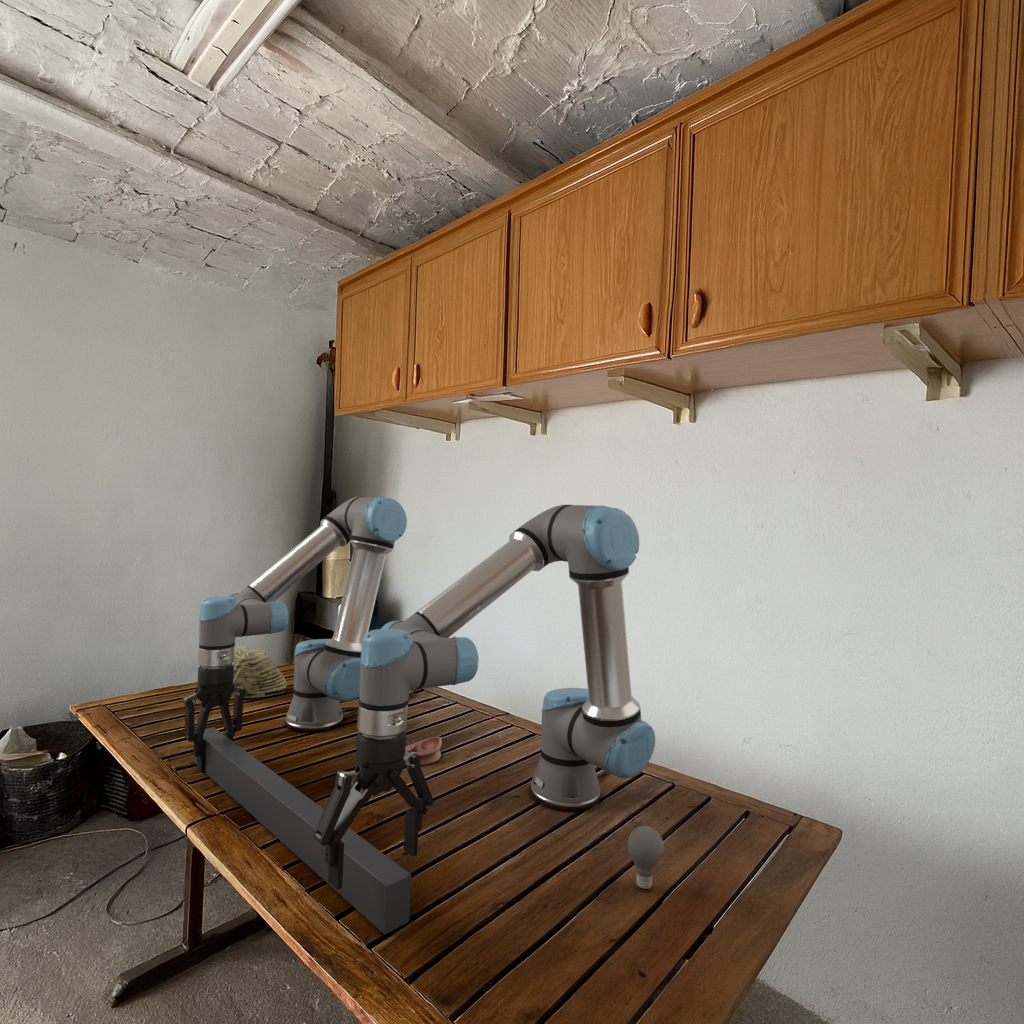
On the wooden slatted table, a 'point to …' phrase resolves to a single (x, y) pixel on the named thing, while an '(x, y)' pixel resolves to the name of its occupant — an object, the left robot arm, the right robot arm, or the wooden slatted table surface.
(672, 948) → the wooden slatted table surface
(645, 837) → the light bulb
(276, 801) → the post
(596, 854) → the wooden slatted table surface
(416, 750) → the anatomical model
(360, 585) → the left robot arm
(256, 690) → the fossil
